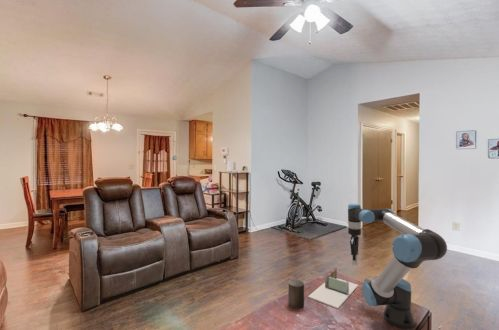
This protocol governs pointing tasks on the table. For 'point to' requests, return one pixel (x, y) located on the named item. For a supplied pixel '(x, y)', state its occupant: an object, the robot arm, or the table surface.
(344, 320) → the table surface
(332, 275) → the fence fixed
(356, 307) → the table surface
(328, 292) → the board
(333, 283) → the fence gate
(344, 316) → the table surface
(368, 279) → the game controller
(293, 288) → the pillar candle
